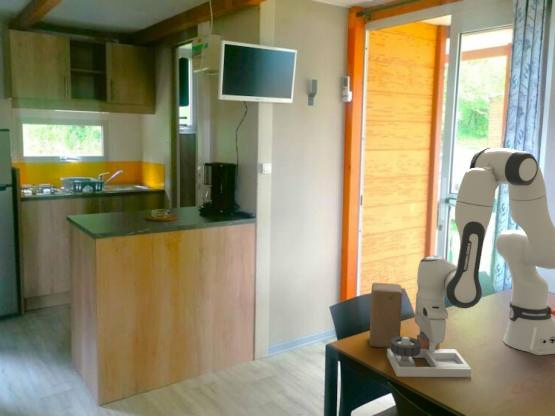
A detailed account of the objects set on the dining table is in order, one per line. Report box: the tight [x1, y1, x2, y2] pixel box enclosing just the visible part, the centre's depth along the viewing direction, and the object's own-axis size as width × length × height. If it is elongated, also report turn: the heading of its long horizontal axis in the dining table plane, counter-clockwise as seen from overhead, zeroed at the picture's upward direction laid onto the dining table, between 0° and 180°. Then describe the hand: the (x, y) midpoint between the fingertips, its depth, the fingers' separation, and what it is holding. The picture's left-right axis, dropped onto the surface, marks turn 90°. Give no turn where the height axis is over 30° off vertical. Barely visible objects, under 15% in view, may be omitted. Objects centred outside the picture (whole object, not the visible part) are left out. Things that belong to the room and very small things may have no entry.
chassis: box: [386, 336, 472, 378], centre depth 162 cm, size 22×14×9 cm, turn 90°
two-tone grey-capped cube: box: [416, 331, 441, 349], centre depth 172 cm, size 6×5×6 cm
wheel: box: [389, 335, 421, 357], centre depth 162 cm, size 9×9×3 cm
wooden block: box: [369, 282, 403, 349], centre depth 179 cm, size 10×10×20 cm
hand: (427, 345), depth 172 cm, fingers open, 7 cm apart
